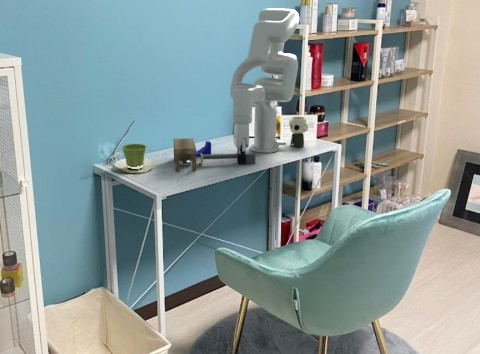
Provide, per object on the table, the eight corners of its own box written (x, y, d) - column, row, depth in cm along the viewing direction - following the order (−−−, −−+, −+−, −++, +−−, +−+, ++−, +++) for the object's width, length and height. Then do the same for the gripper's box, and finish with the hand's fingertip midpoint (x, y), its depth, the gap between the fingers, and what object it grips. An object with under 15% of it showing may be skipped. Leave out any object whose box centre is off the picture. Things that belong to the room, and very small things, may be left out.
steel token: (188, 162, 222) (187, 157, 221) (193, 166, 218) (192, 161, 217) (176, 164, 220) (176, 159, 219) (181, 168, 216) (181, 163, 215)
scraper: (253, 161, 225) (253, 151, 224) (255, 164, 221) (256, 155, 219) (200, 162, 222) (200, 153, 221) (201, 166, 217) (201, 157, 216)
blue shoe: (208, 153, 236) (208, 140, 234) (211, 156, 232) (211, 142, 230) (181, 155, 232) (180, 142, 230) (183, 158, 228) (183, 145, 226)
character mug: (283, 144, 250) (284, 116, 246) (293, 142, 255) (294, 114, 250) (301, 149, 243) (302, 121, 238) (311, 147, 247) (313, 118, 243)
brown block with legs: (193, 159, 226) (193, 138, 223) (196, 170, 212) (196, 148, 209) (173, 159, 225) (173, 138, 222) (175, 171, 211) (175, 149, 208)
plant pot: (121, 165, 217) (119, 144, 214) (144, 163, 220) (143, 142, 217) (125, 172, 209) (124, 151, 206) (149, 170, 212) (148, 148, 209)
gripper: (230, 114, 223) (229, 157, 229) (235, 123, 208) (235, 169, 214) (248, 114, 224) (247, 156, 230) (255, 123, 209) (254, 168, 215)
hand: (241, 162), depth 222 cm, fingers closed on scraper, 2 cm apart
